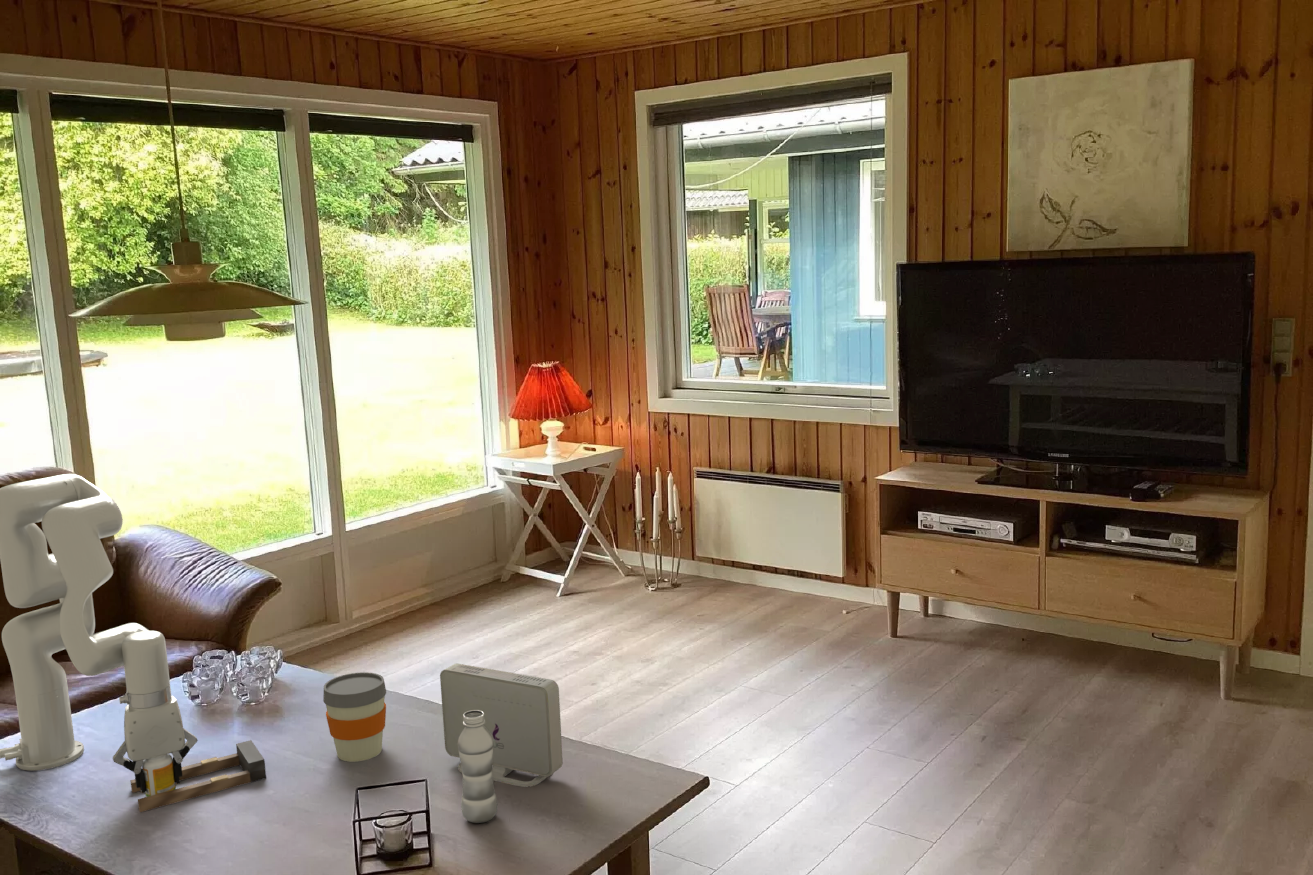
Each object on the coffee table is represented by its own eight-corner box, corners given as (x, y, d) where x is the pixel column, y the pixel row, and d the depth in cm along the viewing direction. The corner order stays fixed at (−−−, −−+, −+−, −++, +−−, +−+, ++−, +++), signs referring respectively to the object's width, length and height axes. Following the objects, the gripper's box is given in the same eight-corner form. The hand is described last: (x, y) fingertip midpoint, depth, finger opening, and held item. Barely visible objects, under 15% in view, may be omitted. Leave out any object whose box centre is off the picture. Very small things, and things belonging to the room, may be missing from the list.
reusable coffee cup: (399, 754, 230) (393, 685, 227) (338, 771, 223) (332, 700, 221) (379, 734, 240) (374, 667, 238) (320, 749, 234) (314, 681, 231)
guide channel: (140, 812, 209) (137, 792, 209) (131, 789, 219) (129, 770, 218) (266, 778, 221) (264, 759, 221) (253, 758, 231) (251, 740, 230)
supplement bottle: (181, 787, 219) (176, 741, 217) (166, 801, 213) (161, 753, 212) (155, 787, 219) (149, 740, 218) (140, 800, 214) (134, 753, 212)
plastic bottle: (481, 806, 207) (474, 703, 204) (506, 816, 203) (499, 712, 199) (454, 820, 202) (446, 715, 199) (479, 831, 198) (472, 724, 194)
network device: (439, 768, 223) (432, 672, 220) (465, 750, 231) (459, 657, 228) (546, 792, 211) (541, 692, 208) (571, 773, 219) (566, 675, 216)
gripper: (102, 713, 205) (113, 806, 208) (201, 691, 214) (210, 780, 217) (97, 701, 212) (108, 790, 215) (193, 680, 221) (203, 766, 224)
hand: (159, 784), depth 216 cm, fingers closed on supplement bottle, 5 cm apart
